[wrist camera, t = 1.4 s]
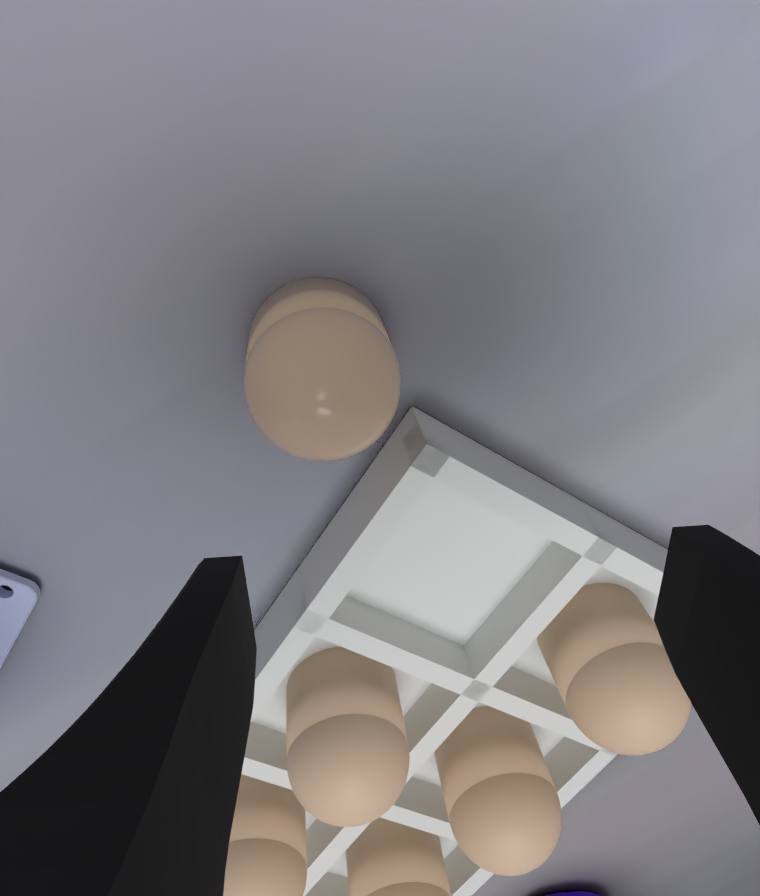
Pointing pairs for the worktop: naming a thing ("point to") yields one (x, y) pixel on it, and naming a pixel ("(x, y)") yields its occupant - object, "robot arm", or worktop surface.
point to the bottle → (574, 894)
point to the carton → (445, 679)
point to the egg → (320, 370)
